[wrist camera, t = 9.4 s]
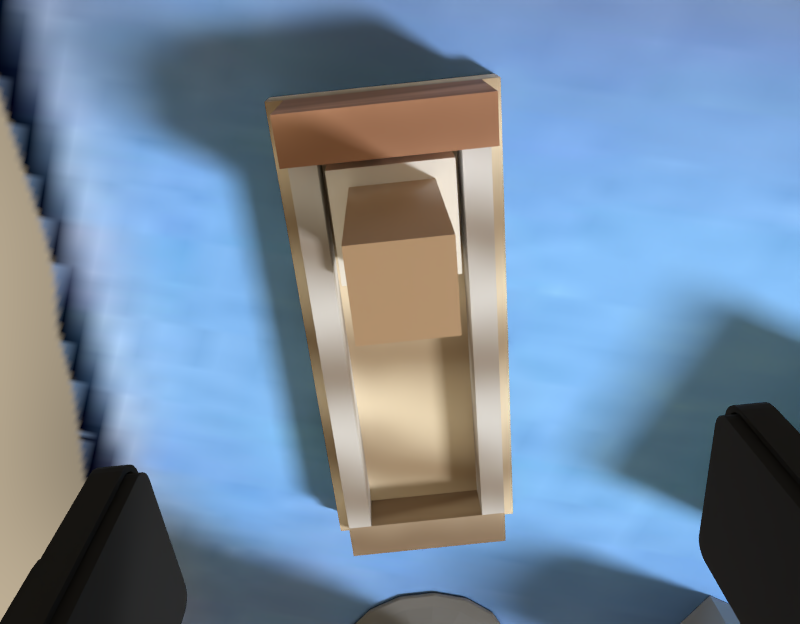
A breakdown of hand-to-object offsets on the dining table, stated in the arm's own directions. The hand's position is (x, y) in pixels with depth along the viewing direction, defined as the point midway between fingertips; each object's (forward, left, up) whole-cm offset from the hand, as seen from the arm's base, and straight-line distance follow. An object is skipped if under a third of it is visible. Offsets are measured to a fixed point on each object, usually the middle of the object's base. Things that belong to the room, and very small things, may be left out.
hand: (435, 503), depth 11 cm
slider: (+1, 0, -21) cm, 21 cm away
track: (+8, 0, -22) cm, 23 cm away
